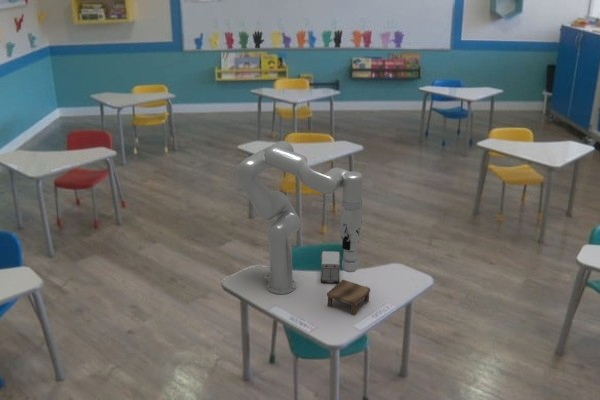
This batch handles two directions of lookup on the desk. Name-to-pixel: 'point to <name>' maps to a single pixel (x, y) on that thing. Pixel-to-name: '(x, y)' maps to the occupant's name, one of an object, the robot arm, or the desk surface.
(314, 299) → the desk surface
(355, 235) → the plastic bottle
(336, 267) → the toy vehicle
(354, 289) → the walnut stand
